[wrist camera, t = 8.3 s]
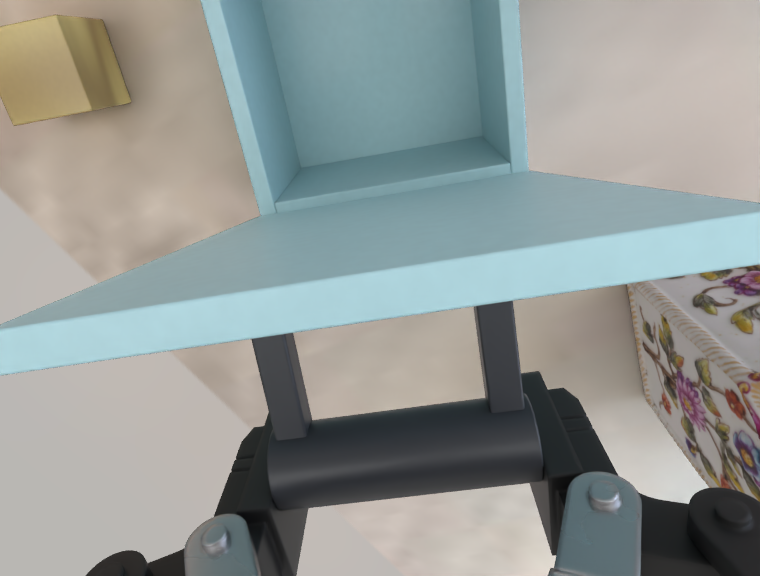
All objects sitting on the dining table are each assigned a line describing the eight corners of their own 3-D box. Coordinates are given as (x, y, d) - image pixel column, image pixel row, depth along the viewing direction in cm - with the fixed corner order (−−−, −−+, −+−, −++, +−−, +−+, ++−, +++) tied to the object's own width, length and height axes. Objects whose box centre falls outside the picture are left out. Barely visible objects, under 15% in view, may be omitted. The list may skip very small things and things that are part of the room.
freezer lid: (-22, 332, 9) (78, 601, 10) (793, 206, 7) (786, 530, 9) (257, 216, 24) (282, 325, 26) (530, 170, 23) (542, 286, 25)
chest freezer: (219, -122, 27) (145, -195, 19) (467, -180, 25) (502, -284, 17) (293, 179, 33) (261, 222, 25) (495, 144, 32) (529, 177, 24)
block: (28, 34, 30) (-30, 32, 26) (102, 19, 29) (55, 14, 25) (62, 116, 32) (12, 126, 28) (132, 102, 31) (92, 110, 27)
